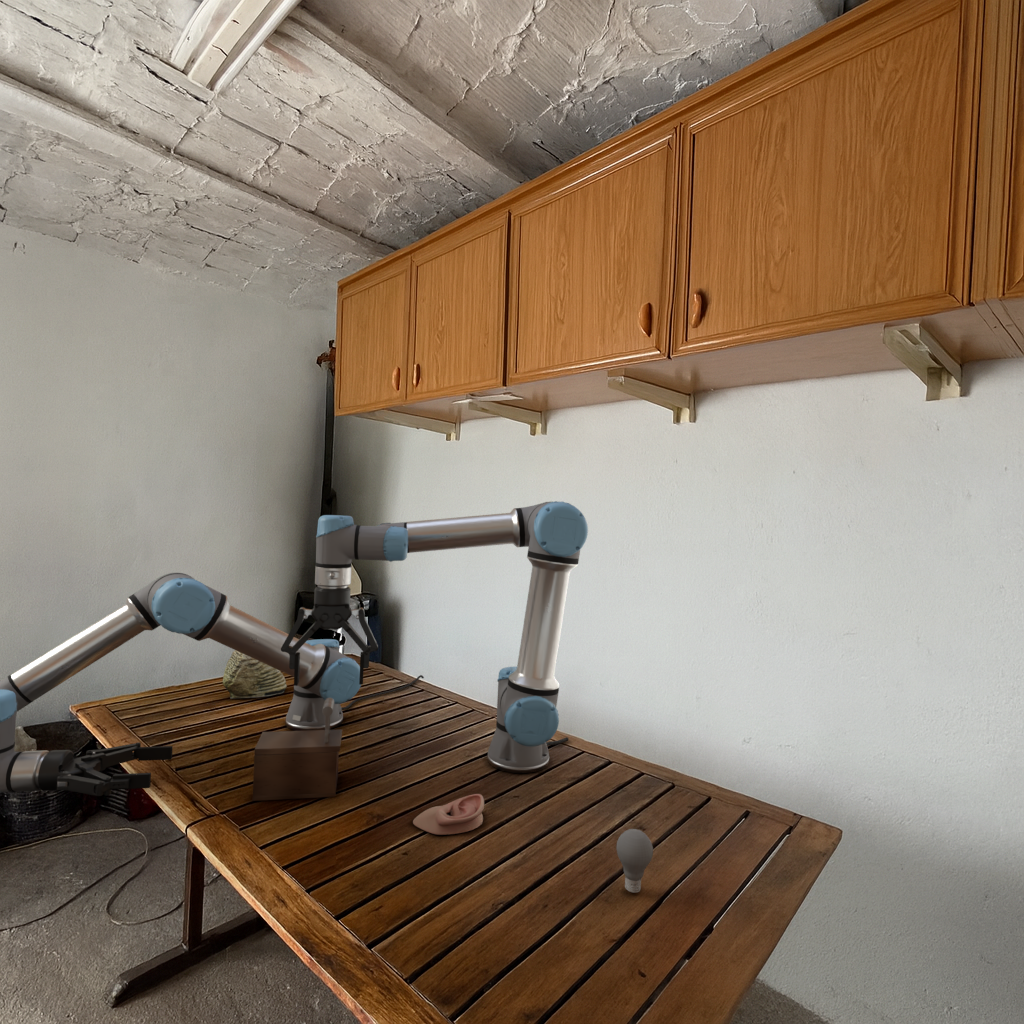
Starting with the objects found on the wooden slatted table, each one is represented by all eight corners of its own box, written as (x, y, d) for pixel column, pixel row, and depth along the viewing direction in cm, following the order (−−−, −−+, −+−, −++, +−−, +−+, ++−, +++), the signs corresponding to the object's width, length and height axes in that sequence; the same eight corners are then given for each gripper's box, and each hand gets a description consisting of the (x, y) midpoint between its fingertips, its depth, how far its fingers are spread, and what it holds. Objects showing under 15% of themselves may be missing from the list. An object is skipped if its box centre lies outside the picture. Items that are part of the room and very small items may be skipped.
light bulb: (610, 879, 108) (613, 822, 108) (644, 879, 109) (647, 822, 109) (619, 902, 102) (622, 840, 102) (655, 901, 103) (658, 840, 103)
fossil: (218, 695, 195) (220, 647, 195) (278, 685, 208) (279, 640, 207) (228, 703, 189) (230, 653, 188) (289, 692, 201) (290, 645, 201)
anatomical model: (407, 809, 121) (427, 784, 133) (406, 830, 121) (426, 802, 133) (474, 819, 119) (489, 792, 130) (473, 840, 119) (488, 811, 130)
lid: (342, 734, 144) (343, 694, 143) (339, 751, 134) (341, 708, 134) (262, 737, 140) (263, 696, 140) (254, 755, 130) (255, 711, 130)
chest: (337, 776, 144) (339, 735, 143) (335, 796, 134) (336, 752, 134) (260, 780, 140) (262, 737, 140) (252, 801, 131) (254, 755, 130)
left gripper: (74, 763, 139) (179, 759, 143) (9, 820, 115) (138, 813, 119) (75, 729, 139) (180, 726, 143) (11, 779, 114) (140, 773, 119)
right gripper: (269, 587, 131) (265, 689, 132) (391, 589, 136) (387, 687, 137) (274, 582, 139) (271, 679, 139) (390, 584, 144) (387, 677, 144)
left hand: (161, 765), depth 131 cm, fingers open, 13 cm apart
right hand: (329, 683), depth 138 cm, fingers open, 13 cm apart
